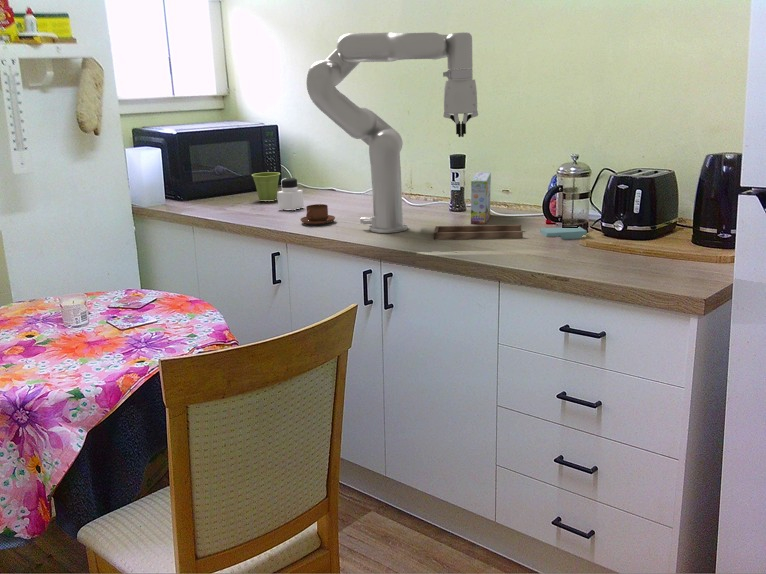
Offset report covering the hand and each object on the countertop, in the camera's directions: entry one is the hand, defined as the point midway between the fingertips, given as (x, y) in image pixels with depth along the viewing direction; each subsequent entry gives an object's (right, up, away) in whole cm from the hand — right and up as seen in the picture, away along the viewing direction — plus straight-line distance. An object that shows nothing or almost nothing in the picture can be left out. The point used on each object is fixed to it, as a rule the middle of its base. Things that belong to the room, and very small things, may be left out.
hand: (461, 136), depth 232 cm
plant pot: (-72, -11, +79) cm, 107 cm away
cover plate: (+29, -32, -10) cm, 45 cm away
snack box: (+9, -25, +19) cm, 32 cm away
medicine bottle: (-60, -17, +57) cm, 84 cm away
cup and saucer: (-47, -25, +28) cm, 60 cm away
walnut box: (+4, -32, -7) cm, 33 cm away
